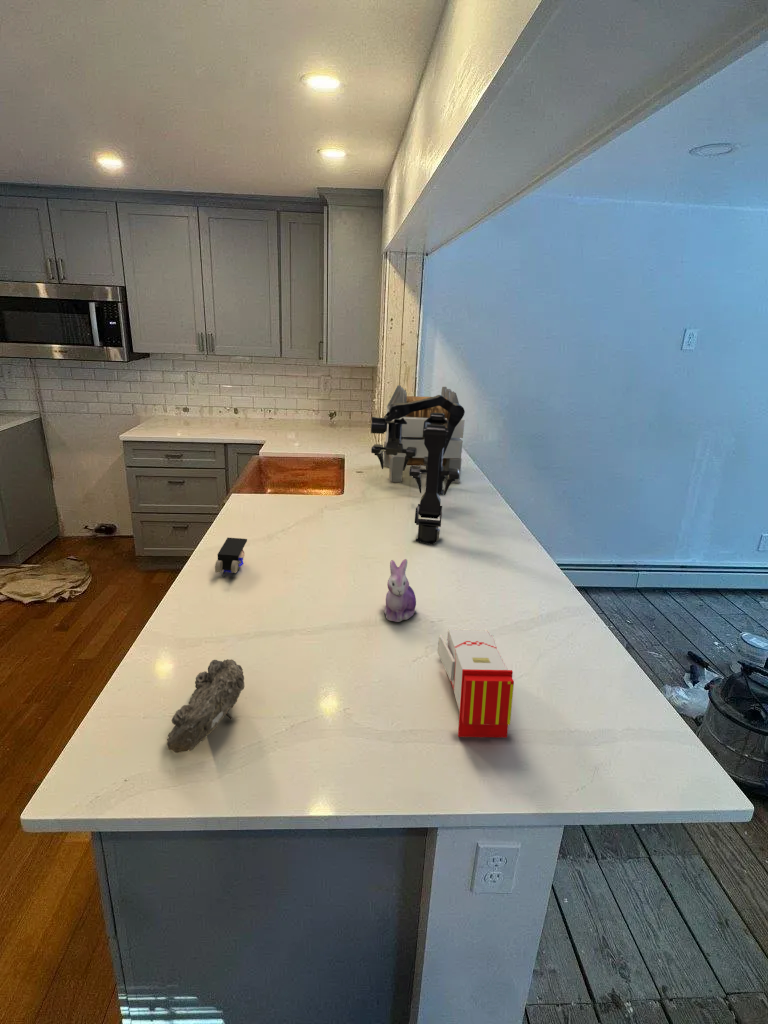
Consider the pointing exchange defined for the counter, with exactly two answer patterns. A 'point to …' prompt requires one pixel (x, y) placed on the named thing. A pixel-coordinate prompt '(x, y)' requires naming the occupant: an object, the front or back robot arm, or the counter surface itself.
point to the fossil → (206, 705)
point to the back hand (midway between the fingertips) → (393, 469)
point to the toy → (478, 682)
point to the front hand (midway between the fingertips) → (432, 493)
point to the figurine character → (230, 556)
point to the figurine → (399, 594)
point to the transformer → (414, 436)
